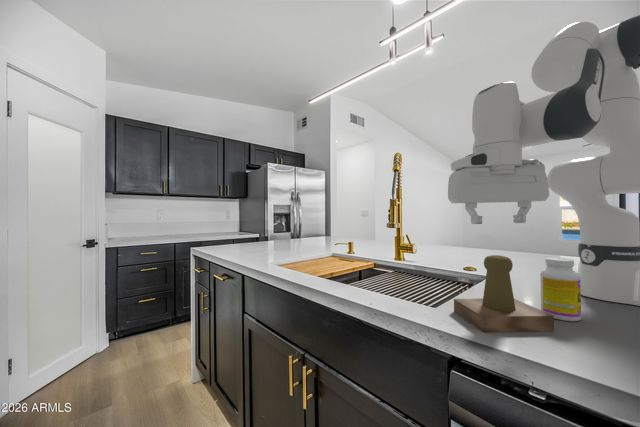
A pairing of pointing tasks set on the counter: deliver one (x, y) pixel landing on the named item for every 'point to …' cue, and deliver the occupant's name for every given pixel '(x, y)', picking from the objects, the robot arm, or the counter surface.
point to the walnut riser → (504, 317)
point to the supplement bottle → (561, 290)
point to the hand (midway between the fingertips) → (498, 223)
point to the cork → (498, 284)
